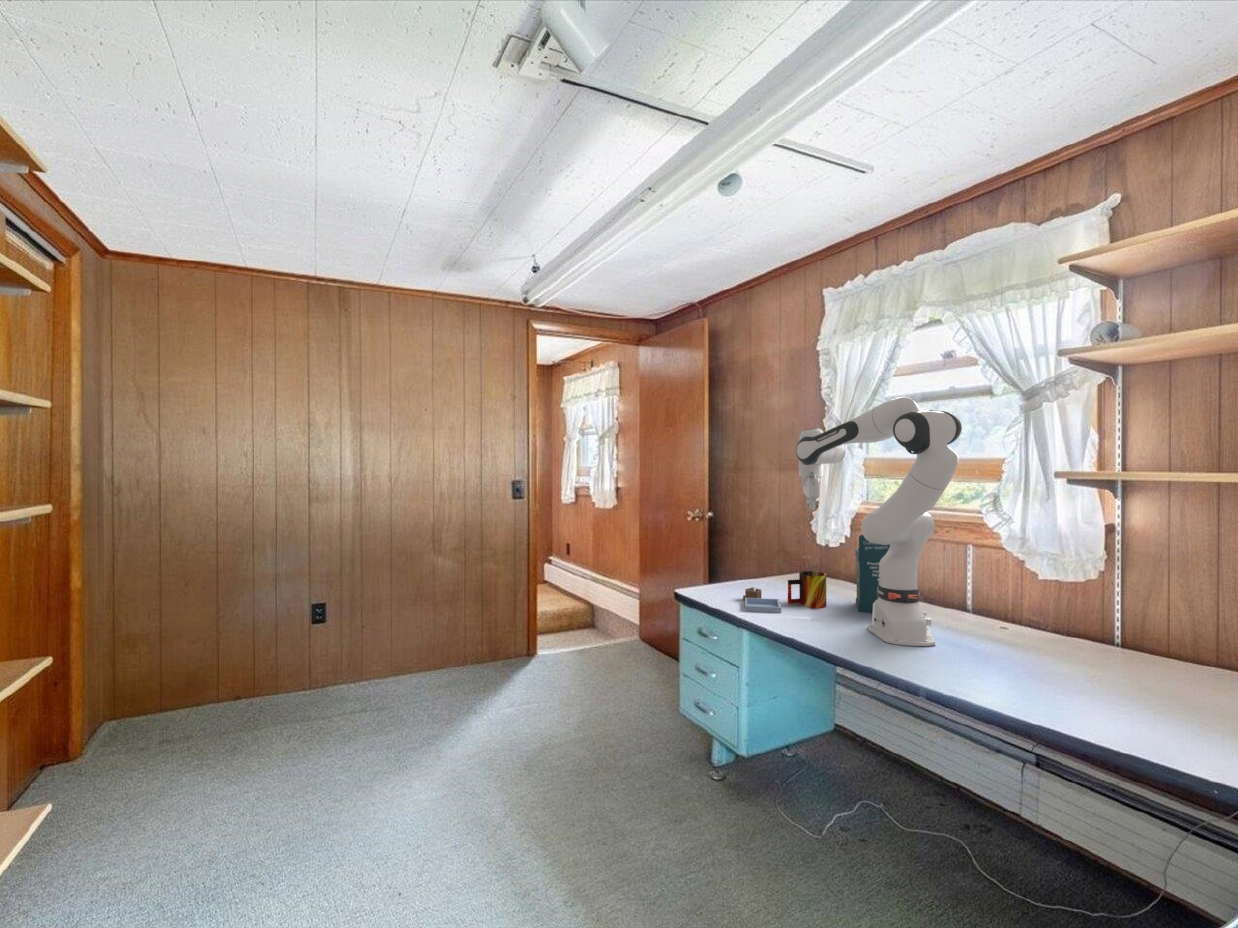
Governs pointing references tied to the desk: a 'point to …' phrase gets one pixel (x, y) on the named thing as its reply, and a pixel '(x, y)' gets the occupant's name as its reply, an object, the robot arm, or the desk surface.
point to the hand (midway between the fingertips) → (810, 508)
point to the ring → (752, 593)
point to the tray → (762, 605)
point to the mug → (810, 589)
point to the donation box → (868, 573)
